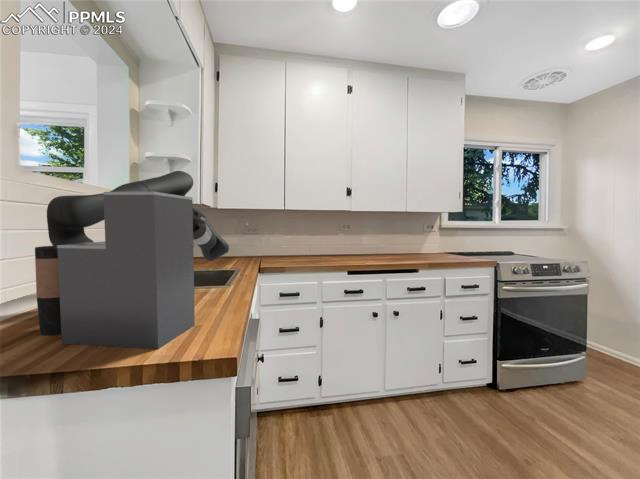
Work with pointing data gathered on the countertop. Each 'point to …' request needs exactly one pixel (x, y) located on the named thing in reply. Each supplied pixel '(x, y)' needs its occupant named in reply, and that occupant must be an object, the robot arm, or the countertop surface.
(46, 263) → the travel mug
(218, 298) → the countertop surface
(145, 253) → the grey stepped block
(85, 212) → the robot arm
